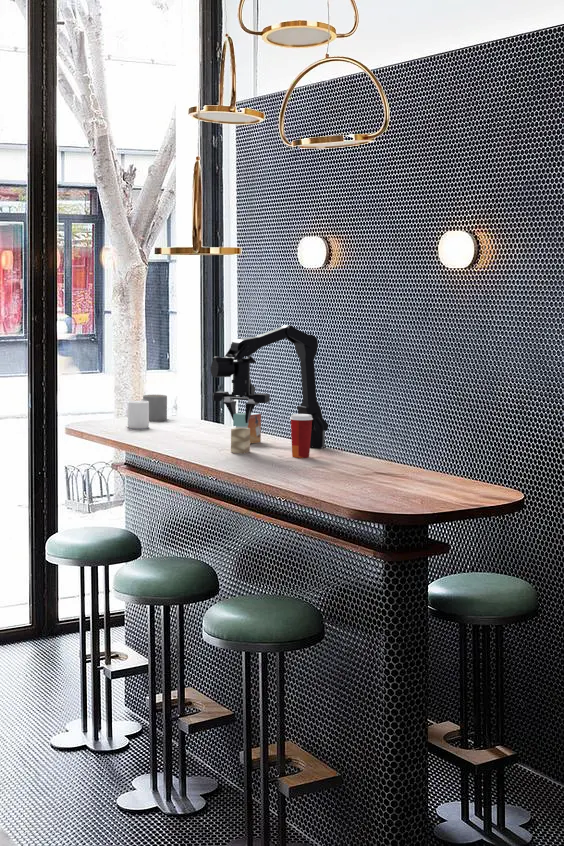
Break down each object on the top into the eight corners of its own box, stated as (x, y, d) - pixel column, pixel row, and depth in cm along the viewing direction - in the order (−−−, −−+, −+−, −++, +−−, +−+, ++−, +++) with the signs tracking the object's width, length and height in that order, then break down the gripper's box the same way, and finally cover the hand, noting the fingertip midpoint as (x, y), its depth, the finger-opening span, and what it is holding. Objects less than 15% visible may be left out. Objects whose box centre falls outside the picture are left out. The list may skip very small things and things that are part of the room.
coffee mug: (171, 420, 449) (171, 396, 448) (150, 421, 443) (150, 397, 442) (154, 416, 460) (154, 393, 458) (134, 418, 453) (134, 394, 452)
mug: (118, 426, 426) (118, 400, 425) (136, 424, 431) (136, 399, 430) (134, 429, 417) (134, 403, 416) (152, 428, 422) (152, 402, 421)
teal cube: (248, 425, 365) (248, 413, 364) (244, 426, 361) (244, 414, 360) (237, 424, 366) (237, 412, 365) (233, 426, 362) (233, 414, 362)
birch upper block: (250, 440, 366) (250, 428, 365) (244, 441, 361) (245, 430, 360) (236, 439, 367) (236, 427, 367) (231, 441, 362) (231, 429, 362)
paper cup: (314, 455, 359) (315, 414, 357) (309, 459, 351) (309, 416, 350) (292, 454, 361) (292, 413, 359) (286, 457, 353) (286, 415, 352)
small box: (247, 444, 382) (247, 415, 381) (235, 443, 385) (235, 413, 384) (261, 442, 388) (261, 413, 387) (249, 440, 392) (249, 412, 390)
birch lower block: (249, 451, 366) (249, 440, 366) (244, 453, 361) (244, 441, 361) (236, 450, 368) (236, 439, 367) (230, 452, 363) (230, 441, 362)
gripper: (275, 375, 366) (274, 421, 368) (223, 373, 372) (223, 418, 374) (264, 378, 356) (264, 425, 358) (212, 376, 361) (211, 422, 363)
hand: (240, 422), depth 363 cm, fingers closed on teal cube, 4 cm apart
